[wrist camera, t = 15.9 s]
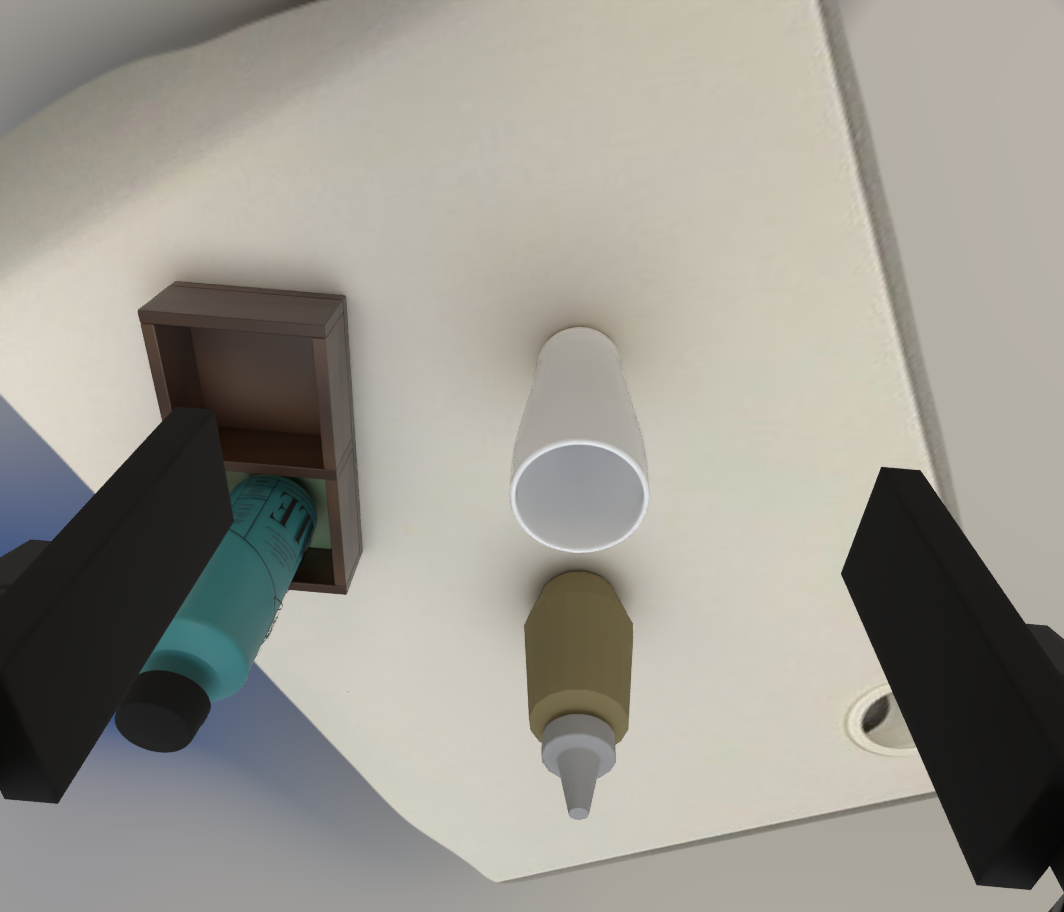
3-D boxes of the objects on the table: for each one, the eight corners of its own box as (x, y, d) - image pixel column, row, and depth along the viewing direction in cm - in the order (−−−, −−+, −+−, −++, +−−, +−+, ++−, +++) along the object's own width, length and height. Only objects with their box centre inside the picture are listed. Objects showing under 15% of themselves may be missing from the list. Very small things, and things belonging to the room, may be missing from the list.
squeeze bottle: (508, 609, 60) (484, 824, 45) (560, 541, 56) (553, 752, 41) (595, 649, 62) (600, 867, 47) (651, 585, 58) (677, 802, 43)
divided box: (174, 280, 47) (136, 309, 43) (346, 295, 47) (324, 325, 43) (224, 539, 58) (197, 582, 54) (362, 551, 58) (346, 595, 54)
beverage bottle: (219, 498, 55) (59, 733, 38) (267, 440, 52) (117, 666, 35) (296, 547, 57) (178, 791, 40) (346, 494, 54) (241, 732, 37)
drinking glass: (532, 305, 47) (514, 429, 34) (641, 319, 47) (665, 448, 34) (520, 402, 50) (501, 547, 38) (622, 415, 50) (637, 563, 38)
